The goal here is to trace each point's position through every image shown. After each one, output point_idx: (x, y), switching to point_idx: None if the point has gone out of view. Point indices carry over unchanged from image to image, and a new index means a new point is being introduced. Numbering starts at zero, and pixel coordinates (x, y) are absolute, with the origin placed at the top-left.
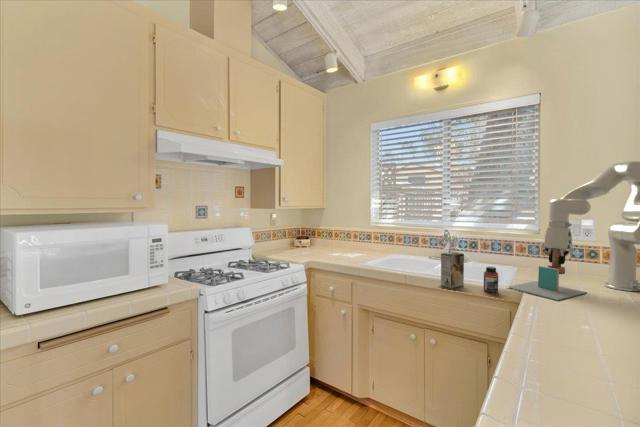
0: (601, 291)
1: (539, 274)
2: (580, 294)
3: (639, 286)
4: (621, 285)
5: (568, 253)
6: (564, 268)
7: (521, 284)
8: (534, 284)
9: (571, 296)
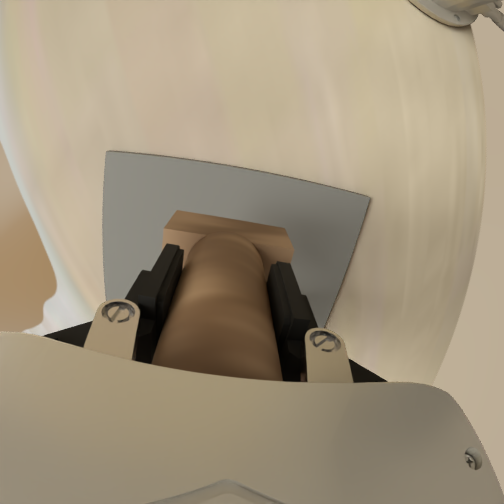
0: (406, 93)
1: None
2: (350, 253)
3: (493, 20)
4: (453, 7)
5: (371, 380)
6: (289, 257)
7: (111, 293)
8: (139, 244)
9: (325, 322)
